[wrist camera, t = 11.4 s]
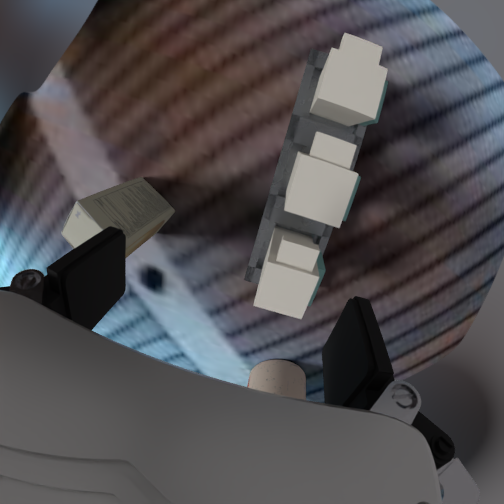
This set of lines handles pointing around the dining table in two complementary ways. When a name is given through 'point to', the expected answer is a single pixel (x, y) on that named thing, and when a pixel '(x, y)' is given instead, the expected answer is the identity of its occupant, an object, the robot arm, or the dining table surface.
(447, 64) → the dining table surface
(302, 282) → the finger loose
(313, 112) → the cream block teal side
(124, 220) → the skincare box
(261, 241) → the rail
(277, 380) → the teacup with lid
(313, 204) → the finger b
